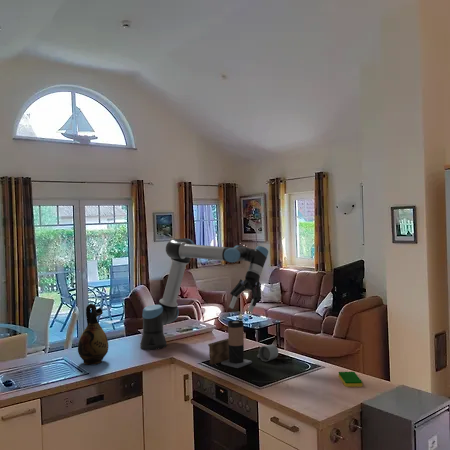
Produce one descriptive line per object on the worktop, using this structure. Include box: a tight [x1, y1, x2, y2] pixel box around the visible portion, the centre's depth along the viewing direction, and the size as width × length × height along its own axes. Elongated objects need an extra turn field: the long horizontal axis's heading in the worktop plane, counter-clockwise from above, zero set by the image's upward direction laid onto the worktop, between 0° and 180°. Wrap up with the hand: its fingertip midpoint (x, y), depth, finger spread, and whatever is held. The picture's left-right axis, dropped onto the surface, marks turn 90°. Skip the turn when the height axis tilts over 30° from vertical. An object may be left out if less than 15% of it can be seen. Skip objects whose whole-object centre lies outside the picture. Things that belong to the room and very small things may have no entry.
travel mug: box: [227, 319, 245, 363], centre depth 225 cm, size 8×8×20 cm
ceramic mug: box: [256, 344, 279, 362], centre depth 232 cm, size 11×8×8 cm
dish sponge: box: [338, 371, 363, 388], centre depth 195 cm, size 7×14×2 cm, turn 178°
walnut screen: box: [208, 338, 229, 366], centre depth 231 cm, size 19×3×10 cm, turn 137°
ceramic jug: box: [77, 303, 109, 366], centre depth 234 cm, size 17×15×30 cm
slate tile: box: [220, 358, 253, 369], centre depth 225 cm, size 11×11×1 cm
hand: (240, 309), depth 238 cm, fingers open, 13 cm apart
